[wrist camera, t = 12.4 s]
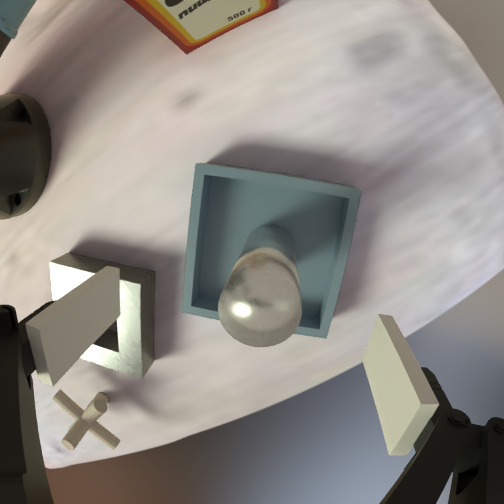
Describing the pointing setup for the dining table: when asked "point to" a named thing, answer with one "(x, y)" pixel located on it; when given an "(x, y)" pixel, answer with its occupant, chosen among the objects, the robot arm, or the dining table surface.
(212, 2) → the baking soda box
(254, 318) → the shiny metal cylinder
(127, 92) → the dining table surface
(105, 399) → the pipe connector
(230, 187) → the parts tray
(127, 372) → the block
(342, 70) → the dining table surface
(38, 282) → the dining table surface
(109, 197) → the dining table surface
